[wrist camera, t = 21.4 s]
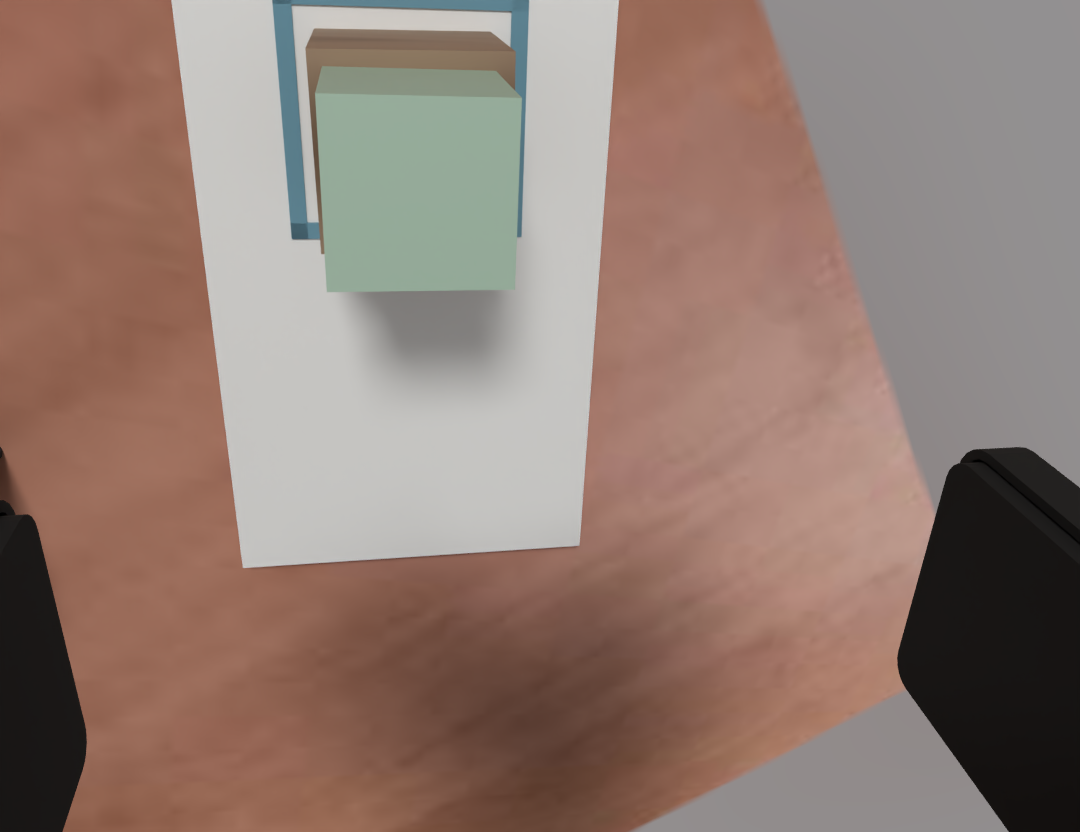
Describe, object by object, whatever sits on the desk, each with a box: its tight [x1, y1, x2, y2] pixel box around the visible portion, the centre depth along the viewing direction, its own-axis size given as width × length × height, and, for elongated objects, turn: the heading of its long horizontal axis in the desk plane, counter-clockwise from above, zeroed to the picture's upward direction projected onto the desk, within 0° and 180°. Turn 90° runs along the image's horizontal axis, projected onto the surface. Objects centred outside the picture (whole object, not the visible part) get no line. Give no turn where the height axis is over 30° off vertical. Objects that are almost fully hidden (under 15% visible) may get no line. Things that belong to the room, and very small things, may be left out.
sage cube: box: [315, 66, 522, 292], centre depth 26 cm, size 5×5×5 cm
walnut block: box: [305, 28, 516, 254], centre depth 31 cm, size 6×6×6 cm
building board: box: [171, 0, 619, 568], centre depth 37 cm, size 24×15×1 cm, turn 178°
